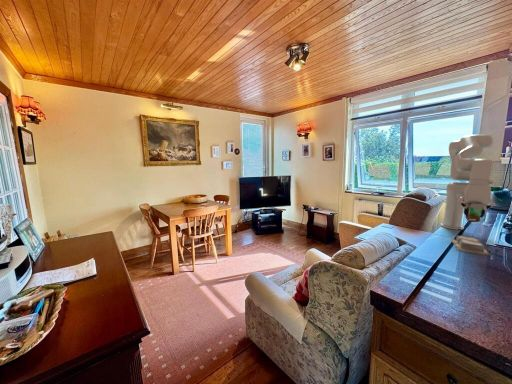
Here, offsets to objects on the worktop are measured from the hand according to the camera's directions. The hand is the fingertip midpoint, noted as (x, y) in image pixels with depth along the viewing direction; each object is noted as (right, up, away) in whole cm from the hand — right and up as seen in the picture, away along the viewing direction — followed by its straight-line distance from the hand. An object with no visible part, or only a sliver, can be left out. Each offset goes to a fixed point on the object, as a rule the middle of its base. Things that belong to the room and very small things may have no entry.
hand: (473, 215), depth 119 cm
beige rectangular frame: (0, -18, +2) cm, 18 cm away
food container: (+1, -3, 0) cm, 3 cm away
